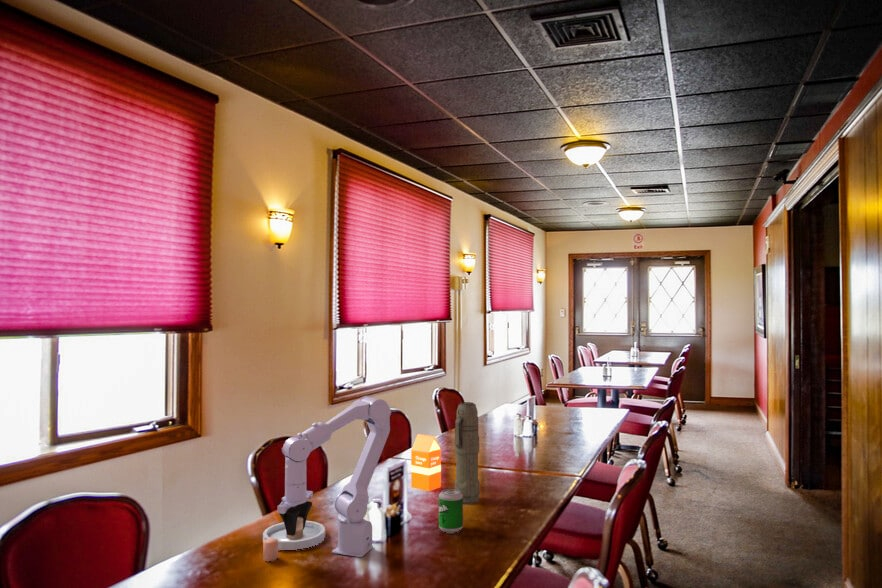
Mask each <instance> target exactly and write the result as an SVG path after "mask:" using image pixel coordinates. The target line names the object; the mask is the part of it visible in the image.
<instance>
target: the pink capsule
mask: <svg viewBox="0 0 882 588" xmlns="http://www.w3.org/2000/svg"><path fill="white" fill-rule="evenodd" d="M262 543H263V544H262V547H263V549H262V552H263V553H262V557H263V559H262V560H264V561H263V562H265V561H267V562H266V563H270V562H269V561H273V562H275V561H274V560H276V559H277V558H278V559H279V550H278V539H275V538H271V539H266V540H264V541H263V540H262ZM276 561H277V560H276Z"/></svg>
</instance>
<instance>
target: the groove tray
mask: <svg viewBox="0 0 882 588" xmlns="http://www.w3.org/2000/svg"><path fill="white" fill-rule="evenodd" d="M271 538H275V539H278V551H280V550H296V551H298V550H297V549H302V550H304V549H303V548H308V549H310V548H309V547H311V548H313V547H316V546H318V545H319V543H320V544H321V543H323V542H324V540H325V539H326V527H325V526H324V525H323V524H322V523H320V522H317V521H311V520H306V523H305V527H304V530H303V538H302V539H299V540H290V539H288V535H287V532H286V528H285V525H284V522H279V523H276V524H272V525H271V526H268V527H267V528H266V529H264V531H263V533H262V542H263V541H264V540H266V539H271ZM324 538H325V539H324ZM322 541H323V542H322ZM315 545H316V546H315ZM312 546H313V547H312Z"/></svg>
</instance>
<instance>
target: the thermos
mask: <svg viewBox="0 0 882 588" xmlns="http://www.w3.org/2000/svg"><path fill="white" fill-rule="evenodd" d="M478 413H479V411H478V408H477V405H476V403H474V402H470V401H468V402H466V401H465V402H460V403H458V405H457V409H456V418H455V422H454V427H455V428H454V451H455V456H456V458H455V459H456V460H455V467H456V469H455V471H456V472H455V473H456V475H455V480H454V489H456V490H459V491H460V492H461V493H462V495H463V505H472V504H471V503H475V504H478V503H479V502H480V494H481V493H480V488H481V487H480V480H479V454H480V435H479V416H478ZM478 501H479V502H478ZM477 502H478V503H477Z"/></svg>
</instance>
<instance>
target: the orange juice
mask: <svg viewBox="0 0 882 588" xmlns="http://www.w3.org/2000/svg"><path fill="white" fill-rule="evenodd" d="M410 451H411V453H410V454H411V456H410V458H411V460H410V461H411V462H410V463H411V464H410V465H411V466H410V472H411V475H410V476H411V478H410V479H411V481H410V485H411V487H410V488H413V489H417V490H422V491H427V492H431V491H434V490H436V489H439V488H441V487H442V449H441V447H440V445H439V442H438V441H437V438H436V436H433V435H427V434H420V433H417V435H416V436H415V440H414V443H413V445H412V448H411V450H410Z"/></svg>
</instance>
